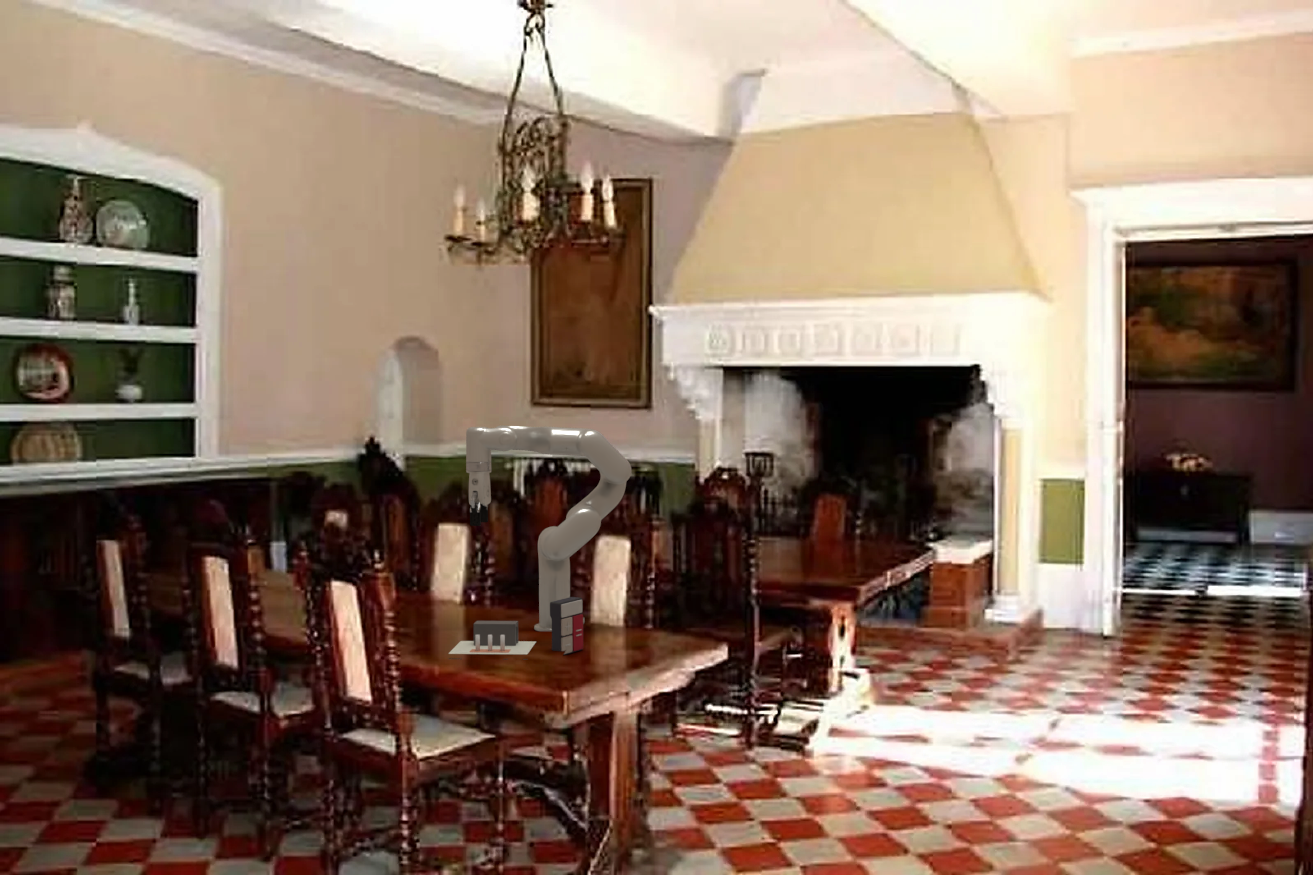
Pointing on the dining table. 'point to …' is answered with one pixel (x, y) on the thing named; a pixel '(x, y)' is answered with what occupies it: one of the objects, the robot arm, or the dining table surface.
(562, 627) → the miniature cabinet
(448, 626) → the dining table surface
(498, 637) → the housing
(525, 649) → the header board
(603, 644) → the dining table surface
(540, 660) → the dining table surface
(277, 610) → the dining table surface
